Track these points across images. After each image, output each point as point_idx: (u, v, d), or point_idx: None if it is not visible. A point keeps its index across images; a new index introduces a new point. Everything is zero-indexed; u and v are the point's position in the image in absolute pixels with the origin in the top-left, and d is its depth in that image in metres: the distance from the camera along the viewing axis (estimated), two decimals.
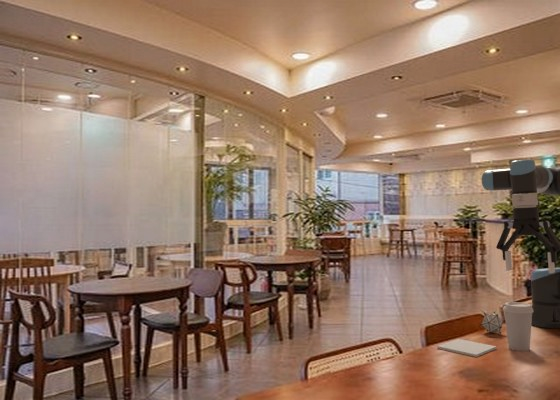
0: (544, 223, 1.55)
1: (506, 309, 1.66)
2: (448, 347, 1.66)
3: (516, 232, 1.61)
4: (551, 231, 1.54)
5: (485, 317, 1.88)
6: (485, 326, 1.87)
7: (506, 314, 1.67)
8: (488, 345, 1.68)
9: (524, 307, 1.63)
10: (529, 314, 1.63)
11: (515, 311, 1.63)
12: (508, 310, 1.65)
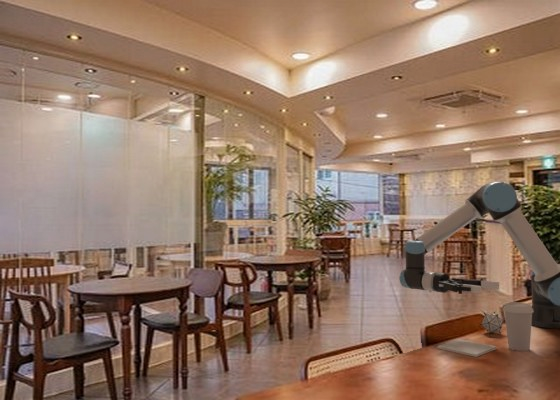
0: None
1: (506, 309, 1.66)
2: (448, 347, 1.66)
3: None
4: (445, 286, 1.79)
5: (485, 317, 1.88)
6: (485, 326, 1.87)
7: (506, 314, 1.67)
8: (488, 345, 1.68)
9: (524, 307, 1.63)
10: (529, 314, 1.63)
11: (515, 311, 1.63)
12: (508, 310, 1.65)
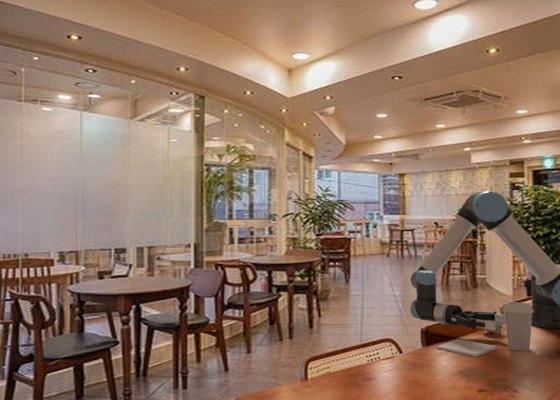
0: None
1: (506, 309, 1.66)
2: (448, 347, 1.66)
3: None
4: (458, 320, 1.75)
5: None
6: None
7: (506, 314, 1.67)
8: (488, 345, 1.68)
9: (524, 307, 1.63)
10: (529, 314, 1.63)
11: (515, 311, 1.63)
12: (508, 310, 1.65)
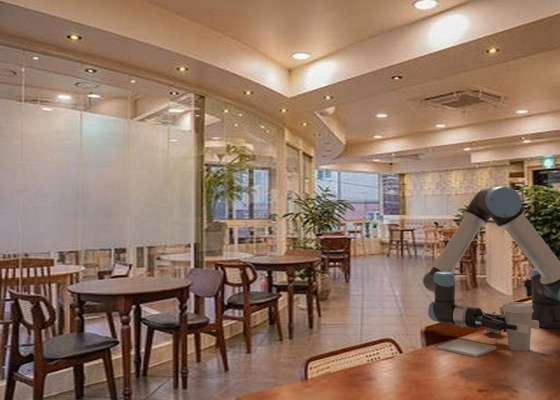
0: None
1: (506, 309, 1.66)
2: (448, 347, 1.66)
3: None
4: (484, 324, 1.69)
5: None
6: None
7: (506, 314, 1.67)
8: (488, 345, 1.68)
9: (524, 307, 1.63)
10: (529, 314, 1.63)
11: (515, 311, 1.63)
12: (508, 310, 1.65)
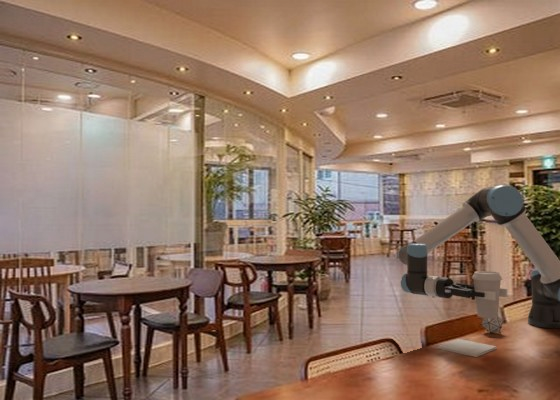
0: None
1: (475, 277, 1.66)
2: (448, 347, 1.66)
3: None
4: (453, 292, 1.70)
5: None
6: (485, 326, 1.87)
7: (475, 282, 1.67)
8: (488, 345, 1.68)
9: (492, 274, 1.64)
10: (497, 281, 1.64)
11: (483, 278, 1.64)
12: (476, 278, 1.66)
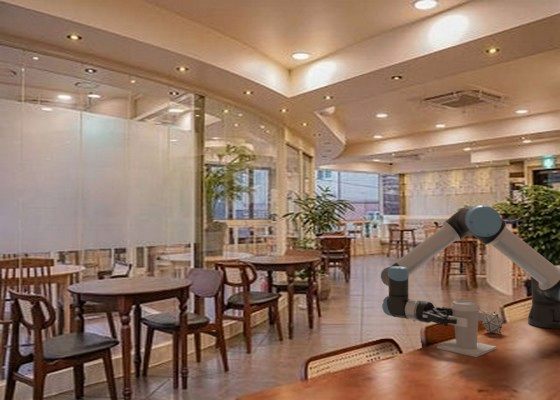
0: None
1: (453, 307, 1.66)
2: (448, 347, 1.66)
3: None
4: (429, 317, 1.70)
5: None
6: (485, 326, 1.87)
7: (453, 312, 1.67)
8: (488, 345, 1.68)
9: (470, 305, 1.63)
10: (475, 312, 1.64)
11: (461, 309, 1.64)
12: (455, 308, 1.65)
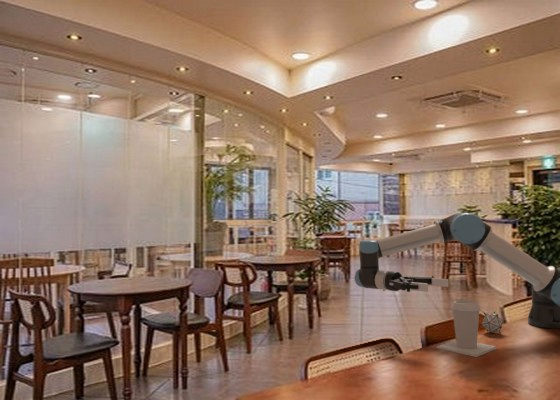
0: (391, 287, 1.83)
1: (453, 307, 1.67)
2: (448, 347, 1.66)
3: None
4: (395, 285, 1.80)
5: (485, 317, 1.88)
6: (485, 326, 1.87)
7: (454, 312, 1.67)
8: (488, 345, 1.68)
9: (470, 305, 1.64)
10: (475, 312, 1.64)
11: (462, 309, 1.64)
12: (455, 308, 1.66)
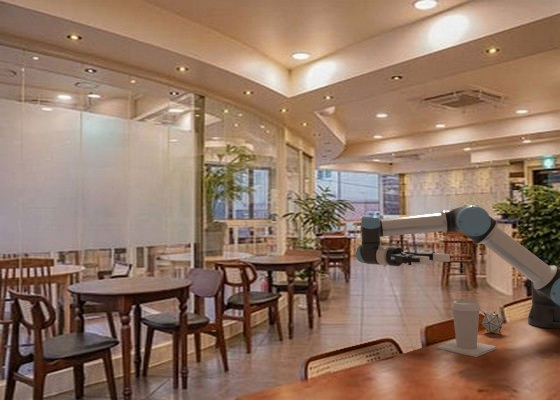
0: (392, 261, 1.83)
1: (453, 307, 1.66)
2: (448, 347, 1.66)
3: None
4: (396, 258, 1.80)
5: (485, 317, 1.88)
6: (485, 326, 1.87)
7: (454, 312, 1.67)
8: (488, 345, 1.68)
9: (470, 305, 1.64)
10: (475, 312, 1.64)
11: (462, 309, 1.64)
12: (455, 308, 1.66)
